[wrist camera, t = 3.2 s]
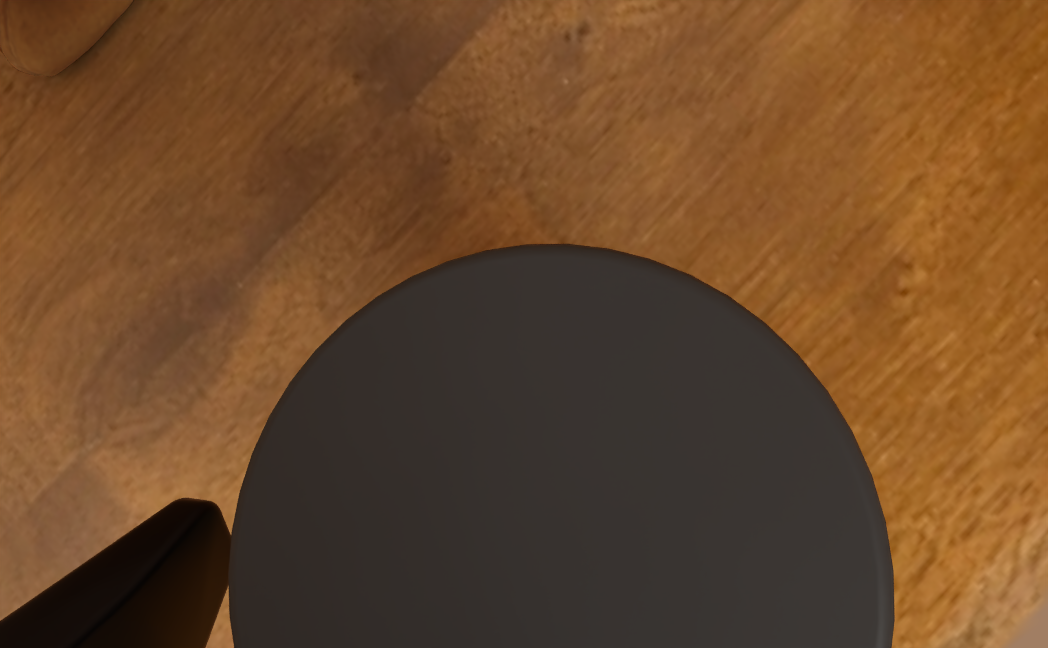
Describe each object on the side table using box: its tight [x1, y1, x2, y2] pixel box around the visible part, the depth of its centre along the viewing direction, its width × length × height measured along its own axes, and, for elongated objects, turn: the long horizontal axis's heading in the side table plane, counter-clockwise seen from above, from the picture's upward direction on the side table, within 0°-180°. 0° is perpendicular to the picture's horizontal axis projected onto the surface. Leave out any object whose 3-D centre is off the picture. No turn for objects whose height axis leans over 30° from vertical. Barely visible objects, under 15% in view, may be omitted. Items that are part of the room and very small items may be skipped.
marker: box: [228, 244, 894, 648], centre depth 11 cm, size 3×3×14 cm
